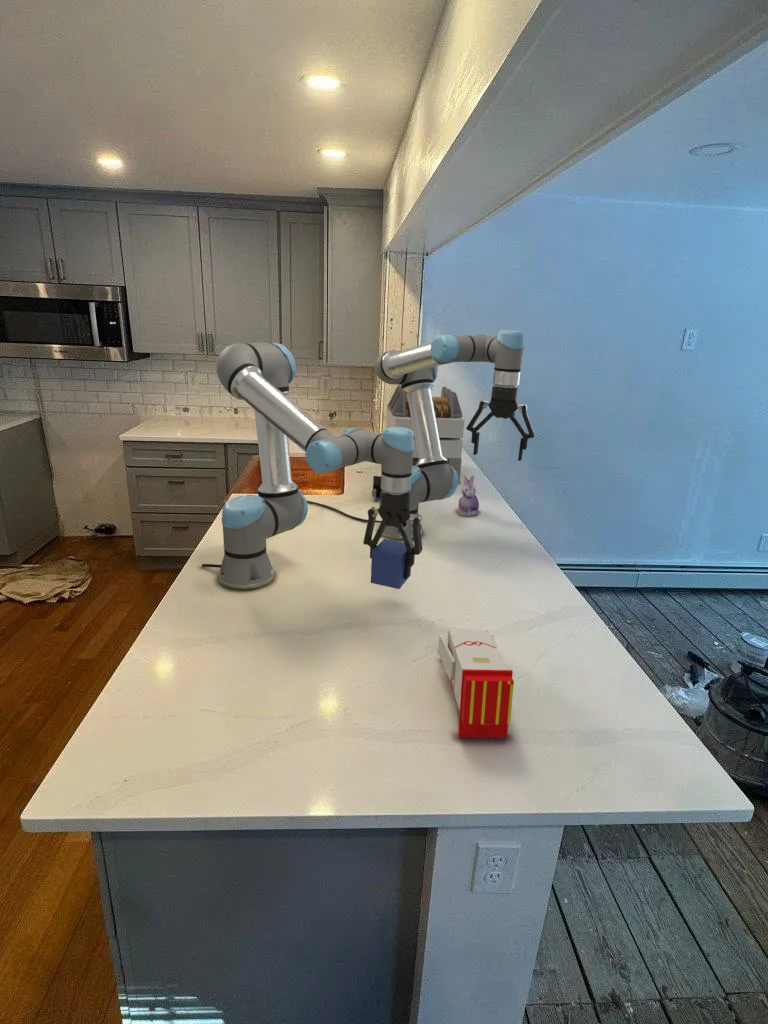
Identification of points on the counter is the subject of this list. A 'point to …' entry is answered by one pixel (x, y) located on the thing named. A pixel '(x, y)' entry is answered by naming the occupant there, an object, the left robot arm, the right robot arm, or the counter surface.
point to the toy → (478, 682)
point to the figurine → (468, 498)
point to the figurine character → (376, 487)
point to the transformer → (446, 421)
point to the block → (389, 564)
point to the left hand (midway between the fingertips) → (391, 573)
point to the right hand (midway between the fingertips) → (497, 456)
